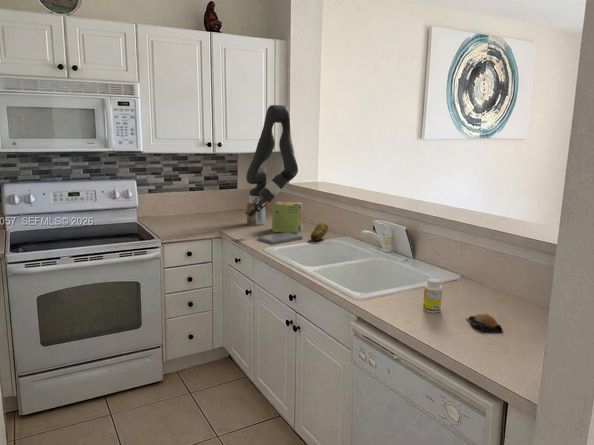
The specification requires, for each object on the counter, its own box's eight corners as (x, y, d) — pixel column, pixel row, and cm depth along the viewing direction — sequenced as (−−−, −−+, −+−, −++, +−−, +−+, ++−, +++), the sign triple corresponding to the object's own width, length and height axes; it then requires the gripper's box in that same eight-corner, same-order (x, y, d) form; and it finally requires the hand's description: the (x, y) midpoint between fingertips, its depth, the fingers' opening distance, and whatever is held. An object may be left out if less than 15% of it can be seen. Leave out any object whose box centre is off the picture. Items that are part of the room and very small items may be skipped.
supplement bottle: (427, 305, 160) (429, 276, 158) (443, 309, 157) (445, 279, 155) (420, 310, 156) (422, 280, 154) (436, 314, 153) (438, 283, 151)
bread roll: (463, 320, 150) (464, 309, 149) (490, 320, 150) (491, 309, 149) (477, 335, 139) (478, 323, 138) (506, 334, 139) (507, 322, 139)
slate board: (258, 239, 250) (258, 236, 249) (286, 234, 262) (286, 231, 261) (273, 244, 240) (273, 241, 240) (302, 239, 252) (302, 236, 252)
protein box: (298, 233, 266) (299, 205, 263) (271, 231, 269) (271, 204, 266) (302, 229, 276) (302, 202, 273) (276, 227, 279) (276, 201, 276)
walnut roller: (245, 225, 253) (245, 202, 251) (252, 224, 256) (252, 201, 254) (250, 226, 250) (250, 204, 247) (257, 225, 253) (257, 203, 250)
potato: (304, 240, 250) (304, 224, 248) (321, 236, 259) (321, 221, 257) (315, 242, 244) (315, 227, 242) (332, 239, 253) (333, 224, 251)
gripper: (261, 184, 258) (239, 208, 256) (269, 188, 245) (246, 213, 243) (270, 194, 261) (249, 217, 259) (279, 198, 248) (256, 222, 246)
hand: (248, 215), depth 251 cm, fingers closed on walnut roller, 4 cm apart
